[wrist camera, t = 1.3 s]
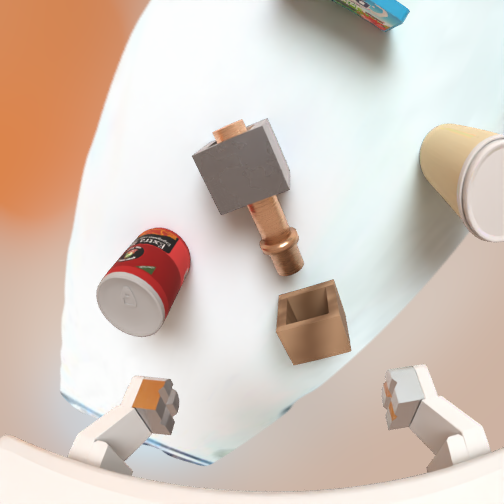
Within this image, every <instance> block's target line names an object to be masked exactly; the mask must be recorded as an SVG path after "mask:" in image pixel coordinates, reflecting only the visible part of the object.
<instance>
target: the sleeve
mask: <svg viewBox="0 0 504 504" xmlns="http://www.w3.org/2000/svg"><path fill="white" fill-rule="evenodd" d="M246 128H247V131H246V132H243V133H241V134H239V135H236V136H234V137H232V138H229V139H227V140H225V141H222V142H220V143H218V144H217V141H216V140H214V141H212V142H210V143H208V144H207V145H206V146H204V147H203V148H202V149H200V150H199V151H198V152H196V153H195V154H194V155H193V156H192V157H193V159H194V161H195V163H196V165H197V167H198V170H199V172H200V174H201V176H202V178H203V180H204V182H205V184H206V186H207V188H208V190H209V192H210V194H211V196H212V198H213V200H214V202H215V204H216V206H217V208H218V210H219V212H220V214H221V215H223V214H225V213H228V212H231V211H233V210H236V209H239V208H241V207H244V206H247V205H249V204H252V203H255V202H257V201H260V200H263V199H266V198H268V197H271V196H274V195H277V194H280V193H282V192H285V191H288V190H290V170H289V167H288V165H287V163H286V160H285V158H284V155H283V153H282V151H281V148H280V146H279V144H278V141H277V139H276V137H275V134H274V132H273V130H272V127H271V125H270V123H269V120H268V118H267V119H264V120H262V121H259V122H257V123H254V124H252V125H249V126H247V127H246Z"/></svg>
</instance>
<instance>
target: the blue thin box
mask: <svg viewBox="0 0 504 504" xmlns="http://www.w3.org/2000/svg"><path fill="white" fill-rule="evenodd" d="M332 1H334V2H336V3H338V4H340V5H342V6H343V7H345V8H347V9H349V10H350V11H352V12H354V13H355V14H357V15H359V16H360V17H362V18H364V19H365V20H367V21H368V22H370V23H372V24H373V25H375V26H376V27H378V28H379V29H381V30H382V31H385V32H386V31H388V30H390V29H392V28H394V27H396V26H398V25H400V24H402V23H403V22H404V20H405V19H406V17H407V15H408V14H409V12H410V11H409V9H407V8H406V7H405V6H403V5H402V4H400V3H399V2H398V1H396V0H332Z"/></svg>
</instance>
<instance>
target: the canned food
mask: <svg viewBox="0 0 504 504" xmlns="http://www.w3.org/2000/svg"><path fill="white" fill-rule="evenodd" d="M189 268H190V253H189V250H188V247H187V246H186V244H185V242H184V241H183V240H182V238H181V237H180V236H178V235H177V234H176V233H174V232H173V231H171V230H168V229H165V228H153V229H149V230H147V231H145V232H143V233H142V234H140V235H139V236H138V238H137V239H136V240H135V241H134V242H133V243H132V244H131V245H130V247H129V248H128V249H127V250H126V251H125V252H124V253H123V255H122V256H121V257H120V258H119V259H118V260H117V262H116V263H115V264H114V265H113V266H112V268H111V269H110V270H109V271H108V272H107V274H106V275H105V276H104V278H103V279H102V280H101V282H100V284H99V285H98V288H97V295H96V297H97V302H98V305H99V308H100V310H101V311H102V313H103V315H104V316H105V317H106V319H107V320H108V321H109V322H110V323H111V324H112V325H114V326H115V327H116V328H118V329H119V330H121V331H122V332H125V333H127V334H130V335H133V336H138V337H146V336H150V335H153V334H155V333H156V332H157V331H158V330H159V329H160V327H161V326H162V324H163V323H164V321H165V318H166V317H167V315H168V313H169V311H170V308H171V306H172V304H173V302H174V300H175V298H176V296H177V294H178V292H179V290H180V288H181V286H182V284H183V282H184V279H185V277H186V275H187V273H188V271H189Z"/></svg>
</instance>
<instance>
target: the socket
mask: <svg viewBox="0 0 504 504" xmlns="http://www.w3.org/2000/svg"><path fill="white" fill-rule="evenodd" d="M276 333H277V335H278V337H279V338H280V340H281V342H282V344H283V346H284V348H285V350H286V352H287V354H288V356H289V357H290V359H291V361H292V363H293V365H297V364H302V363H306V362H310V361H315V360H319V359H323V358H327V357H331V356H335V355H339V354H343V353H346V352H350V351H351V346H350V340H349V334H348V328H347V322H346V316H345V312H344V309H343V306H342V303H341V300H340V297H339V294H338V291H337V288H336V285H335V282H334V279H333V280H330V281H327V282H323V283H320V284H317V285H313V286H310V287H306V288H303V289H300V290H296V291H293V292H289V293H286V294H282V295H279V303H278V316H277V329H276Z"/></svg>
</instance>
